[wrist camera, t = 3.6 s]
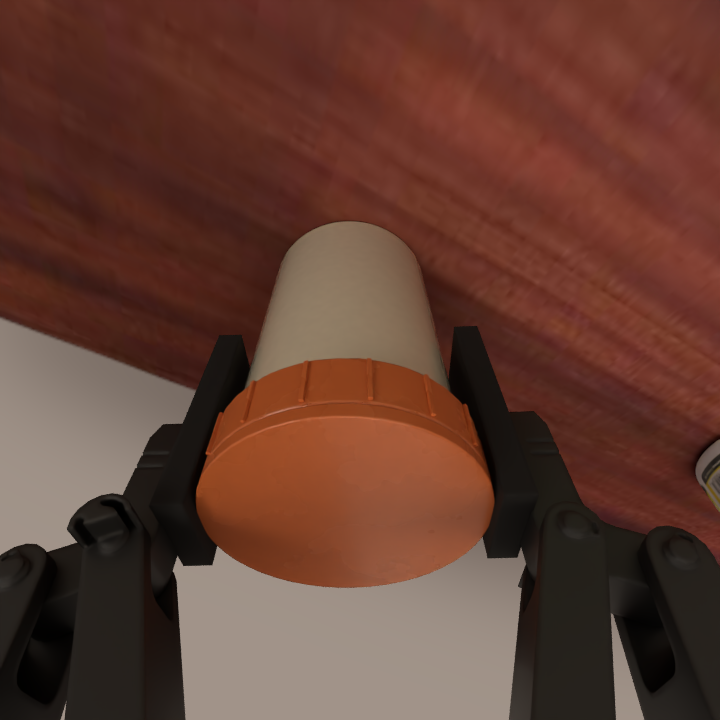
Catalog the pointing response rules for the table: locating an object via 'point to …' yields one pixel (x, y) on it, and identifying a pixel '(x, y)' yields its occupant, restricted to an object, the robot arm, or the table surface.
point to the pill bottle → (710, 473)
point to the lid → (345, 475)
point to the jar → (349, 304)
